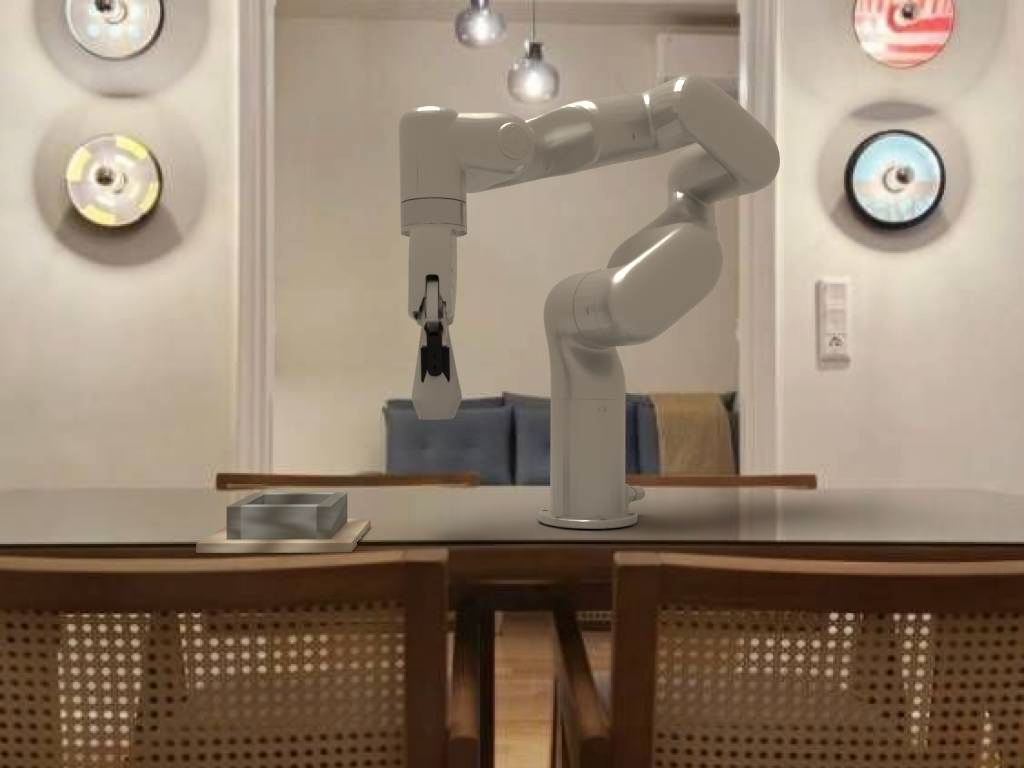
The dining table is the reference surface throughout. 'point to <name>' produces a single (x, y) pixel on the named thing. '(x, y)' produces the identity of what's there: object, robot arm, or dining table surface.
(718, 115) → the robot arm
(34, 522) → the dining table surface
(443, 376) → the salt shaker
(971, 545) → the dining table surface
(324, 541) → the holder
